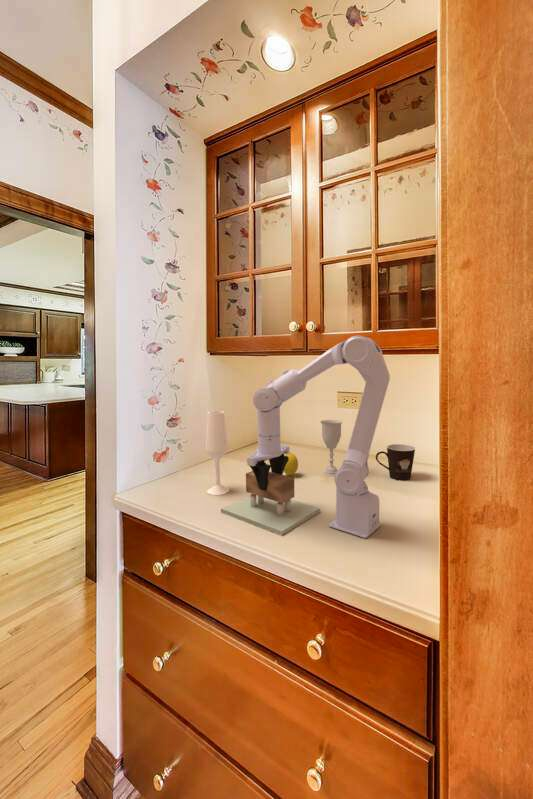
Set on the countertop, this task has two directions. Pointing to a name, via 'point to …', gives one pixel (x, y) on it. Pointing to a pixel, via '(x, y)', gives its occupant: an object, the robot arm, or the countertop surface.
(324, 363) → the robot arm
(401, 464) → the coffee mug
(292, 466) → the lemon
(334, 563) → the countertop surface
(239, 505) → the peg base
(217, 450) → the champagne flute
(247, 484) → the shelf block
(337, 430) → the chalice
